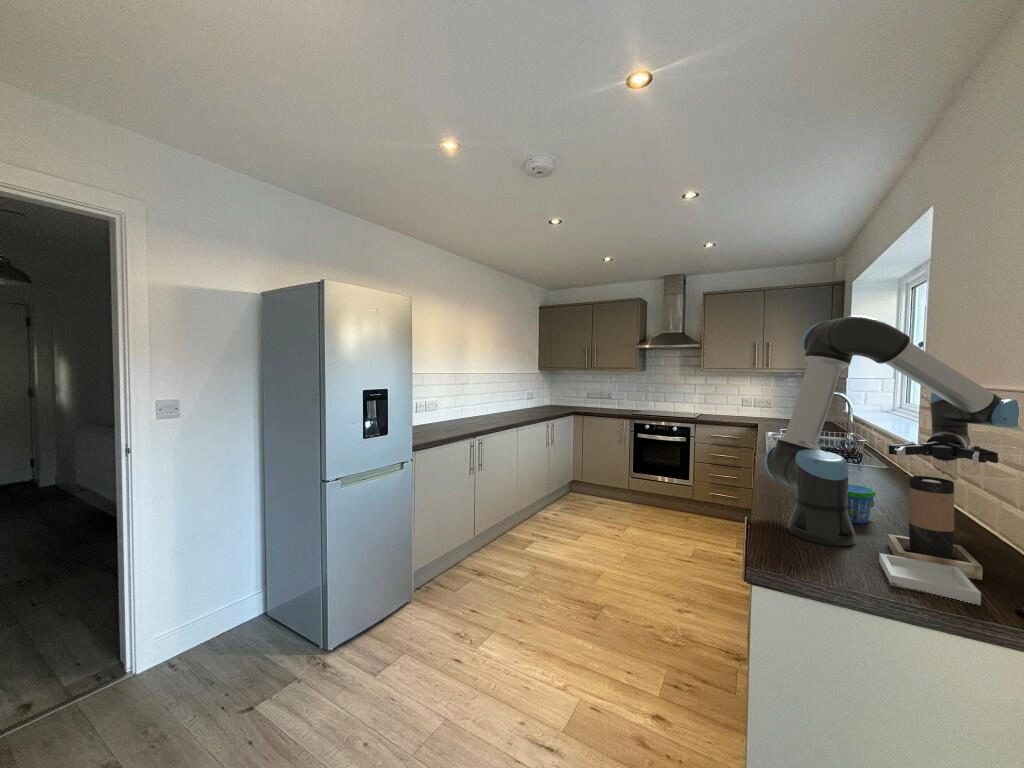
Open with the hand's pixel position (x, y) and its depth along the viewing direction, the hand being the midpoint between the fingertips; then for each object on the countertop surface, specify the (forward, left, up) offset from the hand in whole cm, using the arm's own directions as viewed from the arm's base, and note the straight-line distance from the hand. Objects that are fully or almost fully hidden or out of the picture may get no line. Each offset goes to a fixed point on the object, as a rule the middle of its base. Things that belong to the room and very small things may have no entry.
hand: (934, 458), depth 104 cm
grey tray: (-7, -24, -24) cm, 35 cm away
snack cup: (-15, +17, -24) cm, 33 cm away
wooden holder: (-3, -9, -24) cm, 26 cm away
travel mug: (-3, -9, -24) cm, 26 cm away
